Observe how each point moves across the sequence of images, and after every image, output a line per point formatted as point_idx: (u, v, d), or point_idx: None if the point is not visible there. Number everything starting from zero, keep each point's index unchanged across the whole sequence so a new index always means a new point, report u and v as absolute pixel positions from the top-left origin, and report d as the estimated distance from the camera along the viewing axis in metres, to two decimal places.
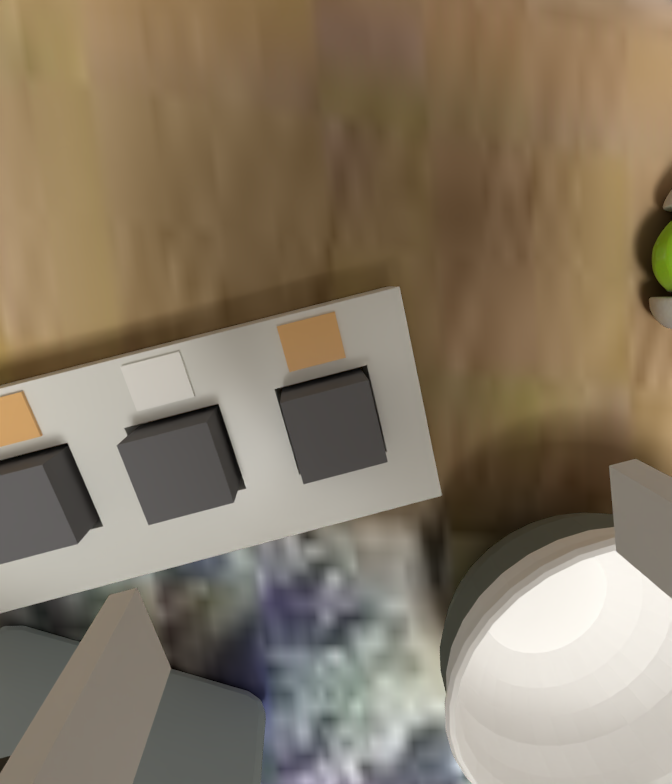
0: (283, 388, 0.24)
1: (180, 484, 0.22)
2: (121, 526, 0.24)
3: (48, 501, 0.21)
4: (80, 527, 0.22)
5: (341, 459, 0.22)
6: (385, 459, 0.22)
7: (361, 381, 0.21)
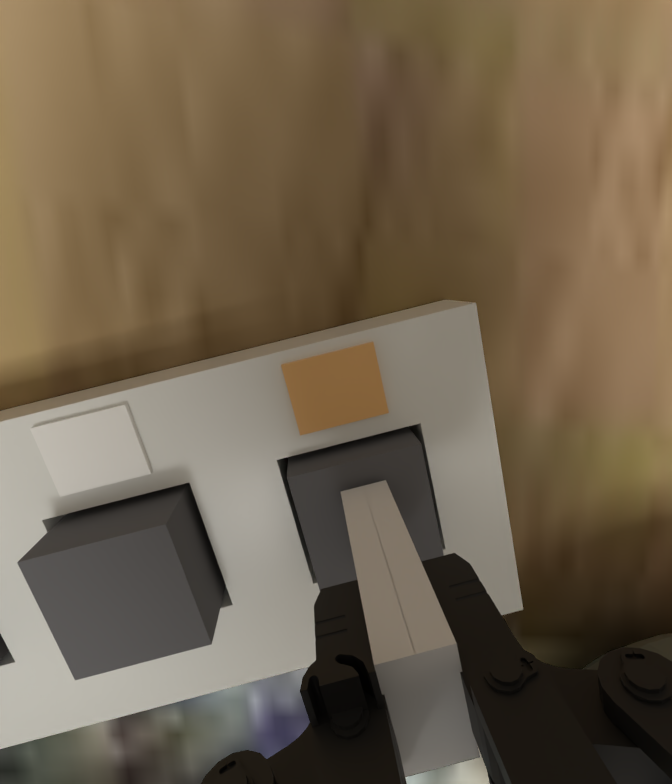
0: None
1: (124, 619, 0.13)
2: (42, 661, 0.16)
3: None
4: None
5: None
6: None
7: (410, 445, 0.14)
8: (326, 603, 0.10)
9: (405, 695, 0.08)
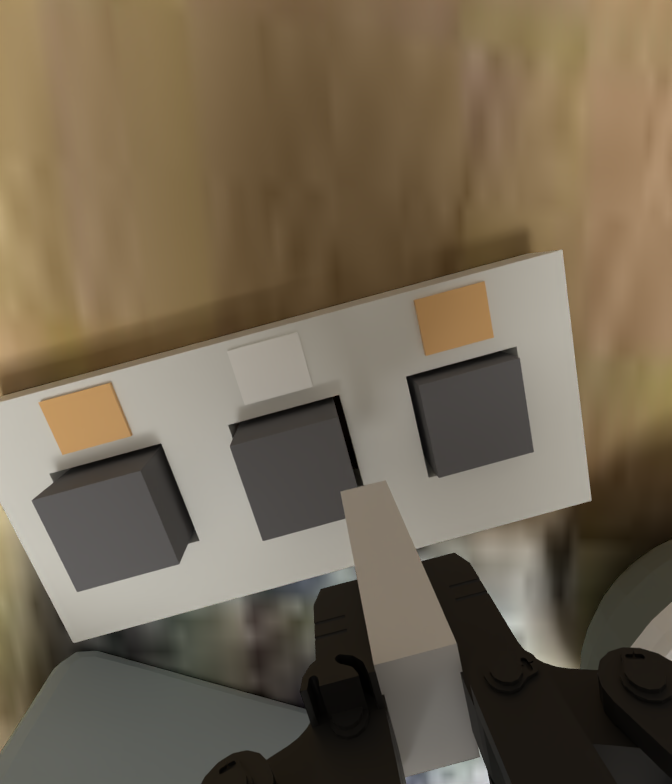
0: None
1: (302, 492, 0.18)
2: (219, 540, 0.20)
3: (146, 515, 0.18)
4: (179, 543, 0.19)
5: (483, 449, 0.19)
6: (531, 448, 0.20)
7: (510, 359, 0.19)
8: (326, 603, 0.10)
9: (404, 695, 0.08)
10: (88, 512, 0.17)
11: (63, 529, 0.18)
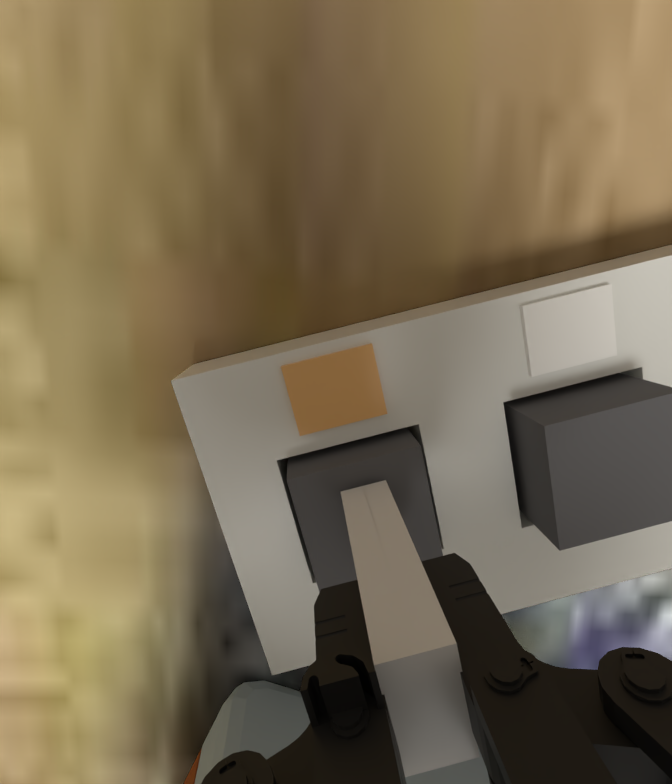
0: None
1: (620, 488, 0.14)
2: (468, 549, 0.16)
3: (418, 501, 0.14)
4: None
5: None
6: None
7: None
8: (326, 603, 0.10)
9: (404, 694, 0.08)
10: None
11: (318, 517, 0.14)
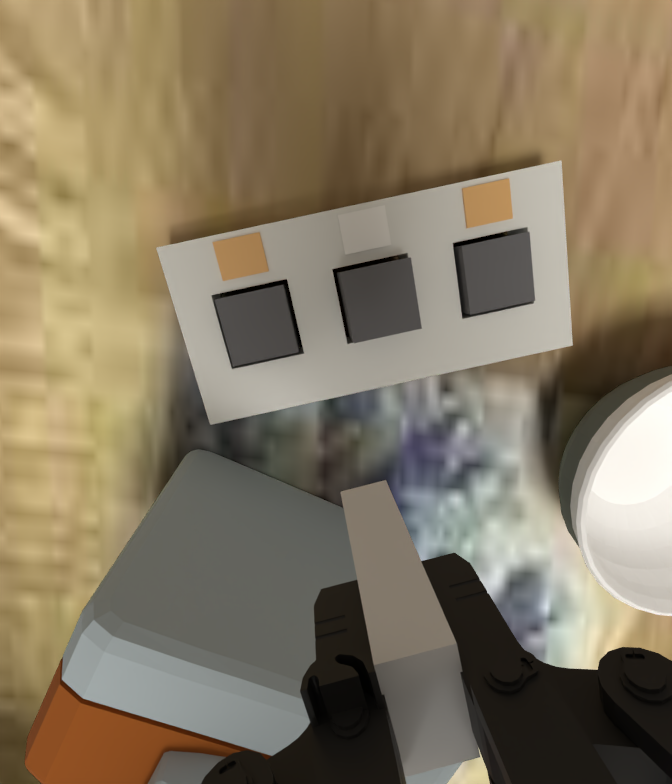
0: None
1: (383, 310, 0.27)
2: (317, 354, 0.30)
3: (282, 315, 0.28)
4: (296, 342, 0.29)
5: (501, 296, 0.29)
6: (533, 298, 0.29)
7: None
8: (326, 603, 0.10)
9: (404, 695, 0.08)
10: (247, 311, 0.28)
11: (231, 321, 0.28)
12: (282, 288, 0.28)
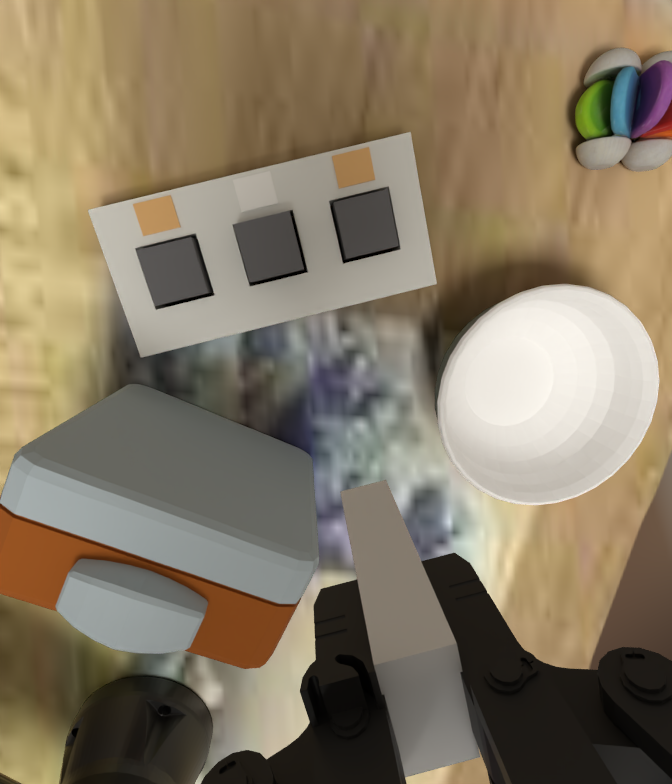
0: (332, 208, 0.38)
1: (270, 254, 0.34)
2: (225, 296, 0.37)
3: (192, 262, 0.35)
4: (207, 286, 0.36)
5: (370, 242, 0.36)
6: (397, 244, 0.36)
7: (383, 190, 0.35)
8: (326, 603, 0.10)
9: (404, 695, 0.08)
10: (163, 259, 0.35)
11: (151, 268, 0.35)
12: (190, 240, 0.35)
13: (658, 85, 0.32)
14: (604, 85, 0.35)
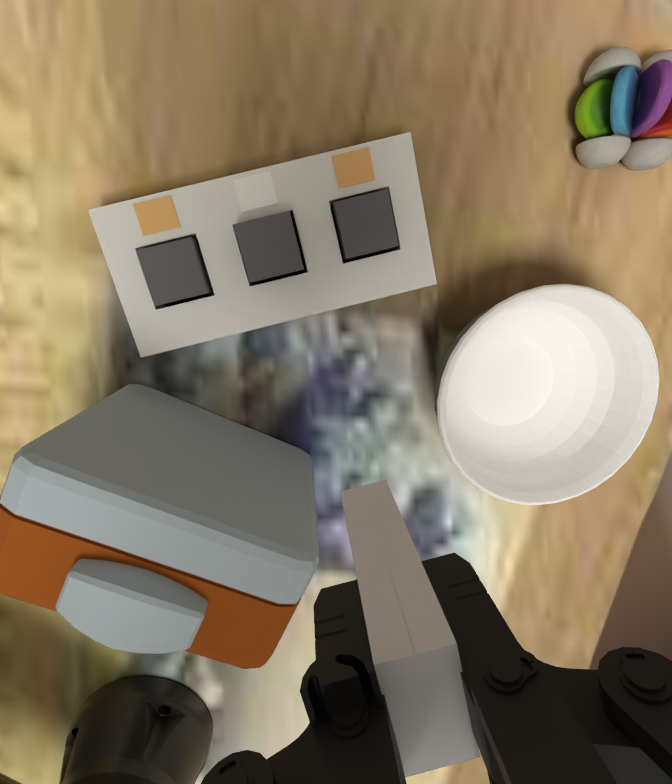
0: (332, 208, 0.38)
1: (270, 254, 0.34)
2: (225, 296, 0.37)
3: (192, 262, 0.35)
4: (207, 286, 0.36)
5: (370, 242, 0.36)
6: (397, 243, 0.36)
7: (383, 190, 0.35)
8: (326, 603, 0.10)
9: (404, 695, 0.08)
10: (163, 259, 0.35)
11: (150, 268, 0.35)
12: (190, 240, 0.35)
13: (658, 84, 0.32)
14: (604, 85, 0.35)
